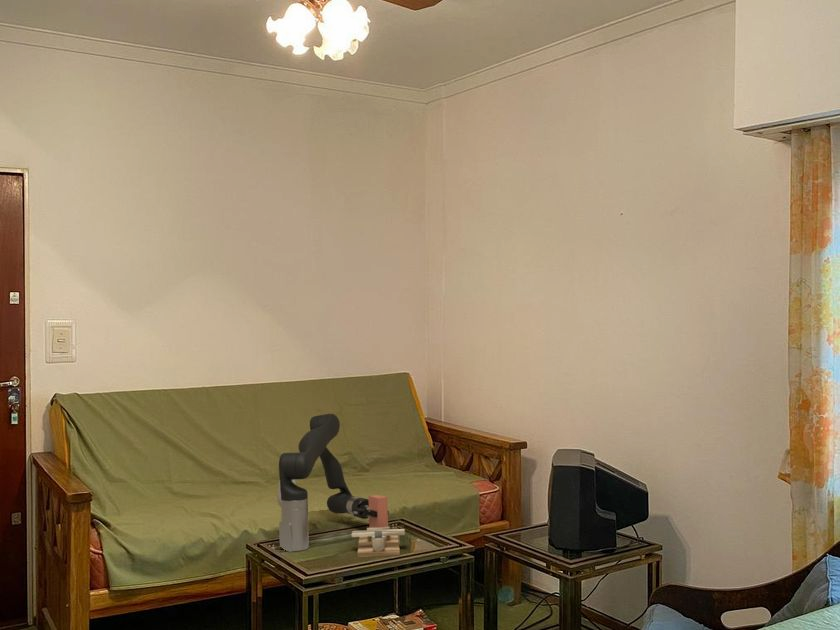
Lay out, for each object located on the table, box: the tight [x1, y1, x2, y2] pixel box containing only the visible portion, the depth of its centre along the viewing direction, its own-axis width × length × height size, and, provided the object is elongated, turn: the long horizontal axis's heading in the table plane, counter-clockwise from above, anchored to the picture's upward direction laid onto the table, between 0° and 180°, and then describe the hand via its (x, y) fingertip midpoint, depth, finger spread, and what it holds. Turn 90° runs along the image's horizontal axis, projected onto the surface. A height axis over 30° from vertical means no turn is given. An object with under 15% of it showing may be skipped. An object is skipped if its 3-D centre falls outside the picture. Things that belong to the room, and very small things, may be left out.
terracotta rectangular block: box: [368, 494, 389, 528], centre depth 315 cm, size 7×4×14 cm, turn 33°
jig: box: [351, 526, 406, 558], centre depth 295 cm, size 28×18×7 cm, turn 3°
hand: (382, 513), depth 312 cm, fingers closed on terracotta rectangular block, 4 cm apart
